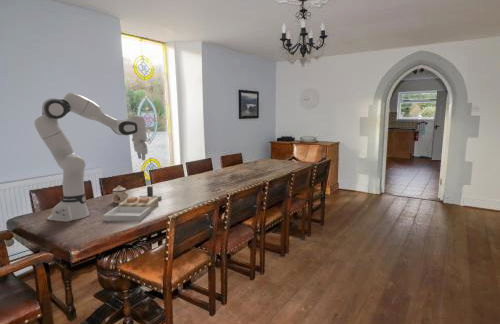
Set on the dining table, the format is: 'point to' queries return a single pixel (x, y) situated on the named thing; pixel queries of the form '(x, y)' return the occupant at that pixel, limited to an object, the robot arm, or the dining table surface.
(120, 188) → the teacup with lid
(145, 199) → the tile right
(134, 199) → the tile left
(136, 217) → the box
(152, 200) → the beige rectangular tray
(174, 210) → the dining table surface
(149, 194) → the scraper
